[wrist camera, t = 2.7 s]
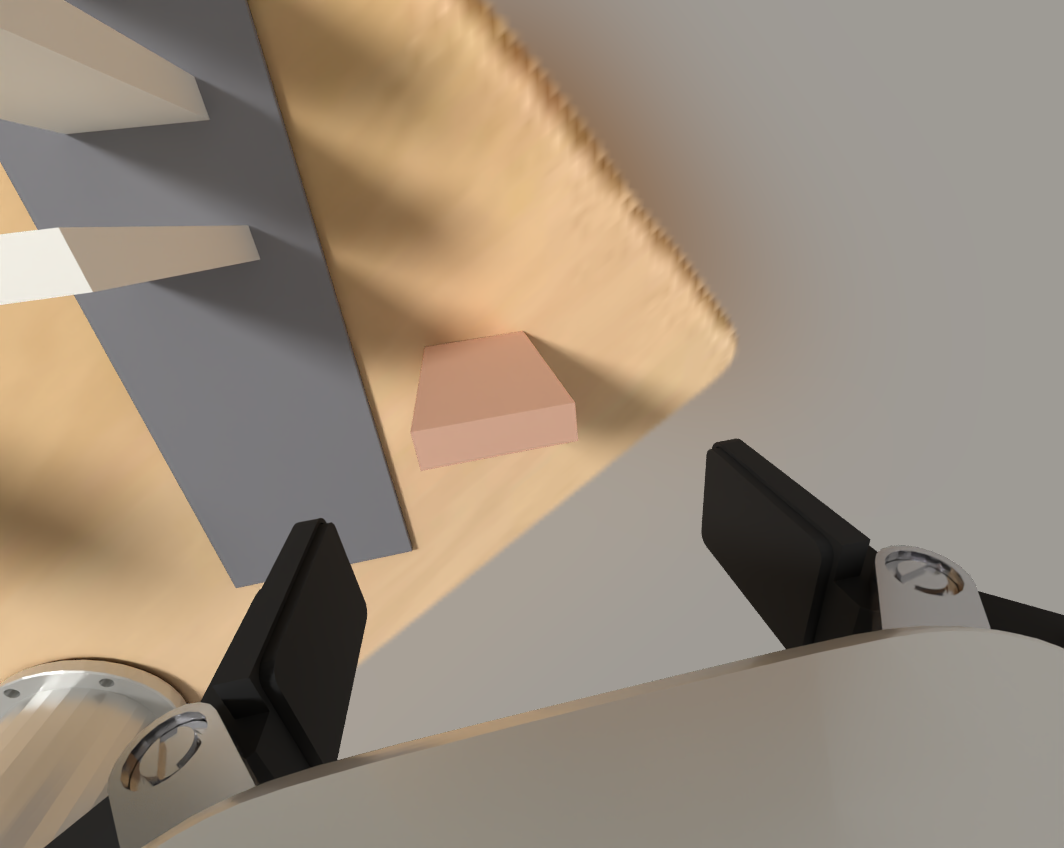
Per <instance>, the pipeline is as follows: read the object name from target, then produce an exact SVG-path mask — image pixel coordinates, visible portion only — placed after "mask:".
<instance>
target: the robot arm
mask: <svg viewBox="0 0 1064 848" xmlns="http://www.w3.org/2000/svg"><path fill="white" fill-rule="evenodd" d="M706 458H707V459H706V472H705V487H704V503H703V517H702V538H703V541H704V543H705V545H706V546H707V548H708V549H709V550H710V552H711V553H712V554H713V556H714V557H715V558H716V559H717V560H718V562H719V563H720V565H721V566H722V567H723V568H724V570H725V571H726V572H727V574H728V575H729V576H730V577H731V579H732V580H733V581H734V582H735V584H736V585H737V586H738V588H739V589H740V590H741V592H742V593H743V594H744V595H745V597H746V598H747V599H748V601H749V602H750V603H751V605H752V606H753V607H754V608H755V610H756V611H757V612H758V614H759V615H760V616H761V617H762V619H763V620H764V621H765V623H766V624H767V625H768V626H769V628H770V629H771V630H772V632H773V633H774V634H775V635H776V637H777V638H778V639H779V641H780V642H781V643H782V644H783V646H784V647H785V648H786V650H782V651H777V652H773V653H769V654H765V655H760V656H756V657H752V658H748V659H744V660H739V661H735V662H731V663H727V664H723V665H719V666H714V667H710V668H706V669H702V670H697V671H693V672H689V673H685V674H681V675H676V676H672V677H668V678H664V679H660V680H656V681H652V682H647V683H643V684H639V685H635V686H631V687H627V688H623V689H619V690H615V691H610V692H606V693H602V694H598V695H594V696H590V697H586V698H582V699H578V700H574V701H570V702H566V703H561V704H557V705H553V706H549V707H545V708H541V709H537V710H533V711H529V712H525V713H520V714H516V715H512V716H508V717H504V718H500V719H497V720H493V721H488V722H485V723H480V724H477V725H472V726H468V727H465V728H460V729H457V730H452V731H448V732H445V733H441V734H437V735H433V736H428V737H424V738H420V739H417V740H412V741H409V742H404V743H401V744H397V745H393V746H389V747H386V748H382V749H378V750H375V751H371V752H367V753H363V754H359V755H356V756H352V757H348V758H344V759H341V760H337V758H338V753H339V748H340V744H341V739H342V734H343V729H344V725H345V720H346V715H347V710H348V706H349V700H350V696H351V691H352V687H353V682H354V677H355V672H356V667H357V663H358V658H359V653H360V648H361V644H362V639H363V634H364V629H365V625H366V620H367V607H366V603H365V600H364V598H363V595H362V593H361V590H360V587H359V585H358V582H357V580H356V577H355V575H354V572H353V570H352V567H351V565H350V562H349V560H348V557H347V555H346V552H345V549H344V547H343V544H342V542H341V539H340V537H339V534H338V532H337V529H336V527H335V525H334V524H333V523H332V522H330V523H327V522H326V521H325V520H324V519H323V518H318V519H313V520H308V521H302V522H298V523H295V525H294V526H293V528H292V530H291V532H290V534H289V536H288V538H287V540H286V541H285V543H284V545H283V547H282V549H281V551H280V553H279V555H278V557H277V559H276V561H275V563H274V565H273V567H272V569H271V571H270V573H269V575H268V577H267V579H266V581H265V583H264V585H263V586H262V588H261V589H260V590H259V591H258V593H257V594H256V596H255V598H254V600H253V601H252V603H251V605H250V607H249V609H248V611H247V613H246V615H245V617H244V619H243V621H242V623H241V625H240V627H239V629H238V630H237V632H236V634H235V636H234V638H233V640H232V642H231V644H230V646H229V648H228V650H227V652H226V654H225V656H224V658H223V659H222V661H221V663H220V665H219V667H218V669H217V671H216V673H215V675H214V677H213V679H212V681H211V683H210V685H209V687H208V689H207V690H206V692H205V694H204V696H203V698H202V700H201V702H197V703H191V704H187V703H186V702H185V700H184V699H183V697H182V696H181V694H180V693H178V692H177V691H176V690H175V689H174V688H173V687H172V686H171V685H170V684H168V683H167V682H165V681H163V680H162V679H160V678H159V677H157V676H155V675H152V674H150V673H148V672H146V671H143V670H141V669H138V668H134V667H131V666H128V665H124V664H119V663H113V662H108V661H98V660H64V661H58V662H51V663H45V664H41V665H37V666H34V667H31V668H27V669H24V670H22V671H20V672H18V673H16V674H14V675H12V676H10V677H8V678H7V679H5V680H4V681H3V682H2V683H0V848H1064V615H1061V614H1058V613H1054V612H1051V611H1047V610H1043V609H1040V608H1036V607H1033V606H1029V605H1026V604H1022V603H1019V602H1015V601H1011V600H1008V599H1004V598H1001V597H997V596H994V595H989V594H986V593H983V592H979V591H977V587H976V585H975V583H974V581H973V579H972V578H971V576H970V575H969V574H968V573H967V572H966V571H965V570H964V569H963V568H962V567H960V566H959V565H957V564H956V563H954V562H953V561H951V560H950V559H948V558H946V557H944V556H942V555H939V554H937V553H935V552H932V551H929V550H926V549H922V548H919V547H912V546H905V545H899V546H889V547H886V548H882V549H881V550H880V551H879V552H877V551H875V550H874V549H873V548H872V547H870V546H869V543H870V539H869V538H868V537H867V536H865V535H864V534H863V533H861V532H860V531H859V530H857V529H856V528H855V527H854V526H852V525H851V524H850V523H848V522H847V521H846V520H844V519H843V518H842V517H841V516H839V515H838V514H837V513H835V512H834V511H833V510H831V509H830V508H829V507H828V506H826V505H825V504H824V503H822V502H821V501H820V500H818V499H817V498H816V497H815V496H813V495H812V494H811V493H809V492H808V491H807V490H805V489H804V488H803V487H801V486H800V485H799V484H798V483H796V482H795V481H794V480H792V479H791V478H790V477H789V476H787V475H786V474H785V473H783V472H782V471H781V470H779V469H778V468H777V467H775V466H774V465H773V464H771V463H770V462H769V461H768V460H766V459H765V458H764V457H762V456H761V455H760V454H759V453H757V452H756V451H755V450H753V449H752V448H751V447H749V446H748V445H747V444H746V443H744V442H743V441H742V440H740V439H731V440H727V441H721V442H716V443H715V444H714V445H713V447H712V449H710V450H708V452H707V457H706Z"/></svg>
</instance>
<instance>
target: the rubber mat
mask: <svg viewBox="0 0 1064 848" xmlns="http://www.w3.org/2000/svg"><path fill="white" fill-rule="evenodd" d="M64 1H66V2H68V3H70V4H71V5H73V6H75V7H76V8H78V9H80V10H82V11H83V12H85V13H87V14H88V15H90V16H92V17H94V18H95V19H97V20H99V21H100V22H102V23H104V24H105V25H107V26H109V27H111V28H112V29H114V30H116V31H117V32H119V33H121V34H123V35H124V36H126V37H128V38H129V39H131V40H133V41H135V42H136V43H138V44H140V45H141V46H143V47H145V48H147V49H148V50H150V51H152V52H153V53H155V54H157V55H158V56H160V57H162V58H164V59H165V60H167V61H169V62H170V63H172V64H174V65H176V66H177V67H179V68H181V69H182V70H184V71H186V72H188V73H189V74H191V75H193V76H194V77H195V80H196V83H197V86H198V88H199V91H200V94H201V97H202V99H203V102H204V105H205V108H206V111H207V113H208V116H209V119H210V120H204V121H194V122H184V123H174V124H163V125H153V126H143V127H133V128H123V129H113V130H103V131H93V132H83V133H73V134H62V133H58V132H53V131H49V130H45V129H41V128H36V127H32V126H28V125H24V124H19V123H15V122H11V121H7V120H2V119H0V162H1V164H2V166H3V168H4V169H5V171H6V173H7V175H8V177H9V178H10V180H11V182H12V184H13V186H14V187H15V189H16V191H17V193H18V195H19V197H20V198H21V200H22V202H23V204H24V206H25V207H26V209H27V211H28V213H29V215H30V216H31V218H32V220H33V222H34V224H35V225H36V227H37V229H38V230H42V229H50V228H58V227H149V226H242V225H248V226H249V229H250V232H251V235H252V237H253V240H254V243H255V246H256V248H257V251H258V254H259V257H260V260H255V261H250V262H245V263H240V264H235V265H229V266H224V267H219V268H214V269H209V270H204V271H199V272H194V273H189V274H183V275H178V276H173V277H168V278H163V279H158V280H153V281H148V282H142V283H137V284H132V285H127V286H122V287H117V288H112V289H107V290H102V291H96V292H91V293H83V294H76V295H74V296H75V298H76V300H77V301H78V303H79V305H80V307H81V309H82V310H83V312H84V314H85V316H86V318H87V319H88V321H89V323H90V325H91V327H92V329H93V330H94V332H95V334H96V336H97V338H98V339H99V341H100V343H101V345H102V347H103V348H104V350H105V352H106V354H107V356H108V357H109V359H110V361H111V363H112V365H113V367H114V368H115V370H116V372H117V374H118V376H119V377H120V379H121V381H122V383H123V385H124V386H125V388H126V390H127V392H128V394H129V395H130V397H131V399H132V401H133V403H134V405H135V406H136V408H137V410H138V412H139V414H140V415H141V417H142V419H143V421H144V423H145V424H146V426H147V428H148V430H149V432H150V433H151V435H152V437H153V439H154V441H155V442H156V444H157V446H158V448H159V450H160V452H161V453H162V455H163V457H164V459H165V461H166V462H167V464H168V466H169V468H170V470H171V471H172V473H173V475H174V477H175V479H176V480H177V482H178V484H179V486H180V488H181V490H182V491H183V493H184V495H185V497H186V499H187V500H188V502H189V504H190V506H191V508H192V509H193V511H194V513H195V515H196V517H197V518H198V520H199V522H200V524H201V526H202V527H203V529H204V531H205V533H206V535H207V537H208V538H209V540H210V542H211V544H212V546H213V547H214V549H215V551H216V553H217V555H218V556H219V558H220V560H221V562H222V564H223V565H224V567H225V569H226V571H227V573H228V575H229V576H230V578H231V580H232V582H233V584H234V585H235V587H236V588H239V587H244V586H248V585H253V584H258V583H263V582H265V581H266V579H267V577H268V575H269V573H270V571H271V569H272V567H273V565H274V563H275V561H276V559H277V557H278V555H279V553H280V551H281V549H282V547H283V545H284V543H285V541H286V540H287V538H288V536H289V534H290V532H291V530H292V528H293V526H294V525H295V523H298V522H302V521H308V520H313V519H318V518H323V519H324V520H325V521H326V522H327V523H330V522H332V523H333V524H334V525H335V527H336V529H337V532H338V534H339V537H340V539H341V542H342V544H343V547H344V549H345V552H346V555H347V557H348V560H349V562H350V564H353V563H357V562H362V561H367V560H372V559H376V558H381V557H386V556H390V555H395V554H400V553H405V552H409V551H412V545H411V541H410V538H409V535H408V531H407V528H406V525H405V522H404V518H403V515H402V512H401V508H400V505H399V502H398V498H397V495H396V492H395V488H394V485H393V482H392V479H391V475H390V472H389V469H388V465H387V462H386V459H385V455H384V452H383V449H382V446H381V442H380V439H379V436H378V432H377V429H376V426H375V422H374V419H373V416H372V412H371V409H370V406H369V403H368V399H367V396H366V393H365V389H364V386H363V383H362V379H361V376H360V373H359V369H358V366H357V363H356V360H355V356H354V353H353V350H352V346H351V343H350V340H349V336H348V333H347V330H346V326H345V323H344V320H343V317H342V313H341V310H340V307H339V303H338V300H337V297H336V293H335V290H334V287H333V283H332V280H331V277H330V274H329V270H328V267H327V264H326V260H325V257H324V254H323V250H322V247H321V244H320V241H319V237H318V234H317V231H316V227H315V224H314V221H313V217H312V214H311V211H310V207H309V204H308V201H307V198H306V194H305V191H304V188H303V184H302V181H301V178H300V174H299V171H298V168H297V164H296V161H295V158H294V155H293V151H292V148H291V145H290V141H289V138H288V135H287V131H286V128H285V125H284V121H283V118H282V115H281V112H280V108H279V105H278V102H277V98H276V95H275V92H274V88H273V85H272V82H271V78H270V75H269V72H268V69H267V65H266V62H265V59H264V55H263V52H262V49H261V45H260V42H259V39H258V36H257V32H256V29H255V26H254V22H253V19H252V16H251V12H250V9H249V6H248V2H247V0H64Z"/></svg>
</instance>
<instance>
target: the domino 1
mask: <svg viewBox="0 0 1064 848" xmlns="http://www.w3.org/2000/svg"><path fill="white" fill-rule="evenodd" d="M0 119H2V120H7V121H11V122H15V123H19V124H24V125H28V126H32V127H36V128H41V129H45V130H49V131H53V132H58V133H62V134H73V133H83V132H93V131H103V130H113V129H123V128H133V127H143V126H153V125H163V124H174V123H184V122H194V121H204V120H210V119H209V116H208V113H207V111H206V108H205V105H204V102H203V99H202V97H201V94H200V91H199V88H198V86H197V83H196V80H195V77H194V76H193V75H191V74H189V73H188V72H186V71H184V70H182V69H181V68H179V67H177V66H176V65H174V64H172V63H170V62H169V61H167V60H165V59H164V58H162V57H160V56H158V55H157V54H155V53H153V52H152V51H150V50H148V49H147V48H145V47H143V46H141V45H140V44H138V43H136V42H135V41H133V40H131V39H129V38H128V37H126V36H124V35H123V34H121V33H119V32H117V31H116V30H114V29H112V28H111V27H109V26H107V25H105V24H104V23H102V22H100V21H99V20H97V19H95V18H94V17H92V16H90V15H88V14H87V13H85V12H83V11H82V10H80V9H78V8H76V7H75V6H73V5H71V4H70V3H68V2H66V1H64V0H0Z"/></svg>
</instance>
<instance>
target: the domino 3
mask: <svg viewBox="0 0 1064 848" xmlns="http://www.w3.org/2000/svg"><path fill="white" fill-rule="evenodd" d="M411 436H412V440H413V443H414V447H415V451H416V455H417V458H418V462H419V466H420V470H421V471H423V470H428V469H433V468H438V467H444V466H449V465H454V464H459V463H464V462H470V461H475V460H480V459H485V458H491V457H496V456H501V455H506V454H511V453H517V452H522V451H527V450H532V449H537V448H543V447H548V446H553V445H558V444H563V443H569V442H574V441H578V432H577V420H576V408H575V402H574V400H573V399H572V398H571V396H570V395H569V393H568V392H567V391H566V389H565V388H564V387H563V385H562V384H561V382H560V381H559V380H558V378H557V377H556V375H555V374H554V373H553V371H552V370H551V369H550V367H549V366H548V364H547V363H546V362H545V360H544V359H543V358H542V356H541V355H540V353H539V352H538V351H537V349H536V348H535V347H534V345H533V344H532V342H531V341H530V340H529V338H528V337H527V335H526V334H525V333H524V331H520V332H514V333H508V334H501V335H495V336H489V337H483V338H477V339H470V340H464V341H458V342H452V343H446V344H439V345H433V346H427V347H425V348H424V354H423V360H422V366H421V372H420V378H419V384H418V390H417V396H416V403H415V409H414V415H413V421H412V427H411Z"/></svg>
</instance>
